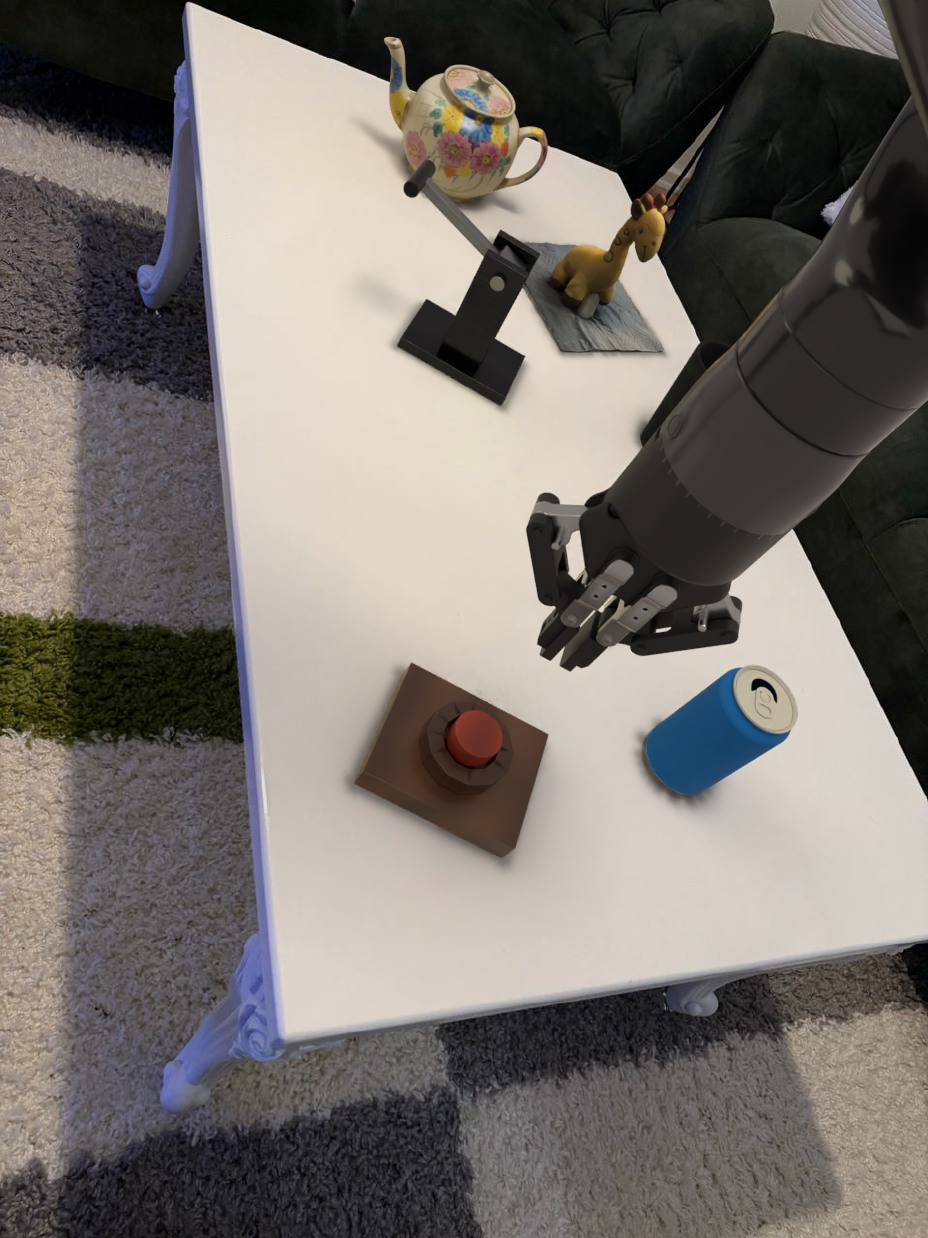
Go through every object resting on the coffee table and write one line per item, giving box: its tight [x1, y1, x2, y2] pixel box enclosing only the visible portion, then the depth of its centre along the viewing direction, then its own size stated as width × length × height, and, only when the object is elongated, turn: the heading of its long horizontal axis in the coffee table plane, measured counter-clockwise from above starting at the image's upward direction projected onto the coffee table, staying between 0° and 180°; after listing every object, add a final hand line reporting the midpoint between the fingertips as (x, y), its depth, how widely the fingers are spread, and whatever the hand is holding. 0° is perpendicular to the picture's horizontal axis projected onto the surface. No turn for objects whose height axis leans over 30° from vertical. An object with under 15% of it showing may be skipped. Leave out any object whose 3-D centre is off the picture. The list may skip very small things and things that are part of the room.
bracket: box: [396, 229, 540, 406], centre depth 87 cm, size 12×8×13 cm, turn 71°
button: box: [446, 710, 503, 767], centre depth 62 cm, size 4×4×2 cm
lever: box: [402, 160, 527, 270], centre depth 82 cm, size 13×5×2 cm, turn 71°
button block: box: [353, 662, 549, 859], centre depth 64 cm, size 12×10×4 cm
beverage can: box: [645, 664, 799, 796], centre depth 70 cm, size 6×6×12 cm
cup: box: [640, 339, 733, 448], centre depth 93 cm, size 8×8×12 cm
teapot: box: [383, 36, 549, 204], centre depth 103 cm, size 20×14×13 cm
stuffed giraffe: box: [523, 192, 669, 353], centre depth 101 cm, size 16×18×16 cm
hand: (557, 652), depth 53 cm, fingers closed
